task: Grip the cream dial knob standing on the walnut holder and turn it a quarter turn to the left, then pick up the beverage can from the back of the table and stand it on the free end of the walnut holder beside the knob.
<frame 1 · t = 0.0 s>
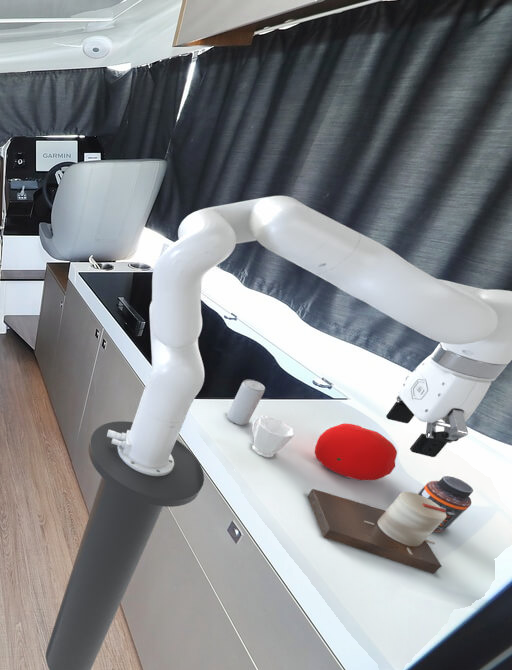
hand: (408, 436, 79), 21 cm above the countertop, tool pointing down, fingers open, 9 cm apart
cup: (259, 447, 105), on the countertop
supplement bottle: (422, 521, 87), on the countertop
cream dial knob: (410, 518, 80), point 7 cm above the countertop, hinge at 0.0°
towel stand: (364, 531, 85), on the countertop
beverage can: (236, 420, 114), on the countertop
tomato: (343, 469, 99), on the countertop
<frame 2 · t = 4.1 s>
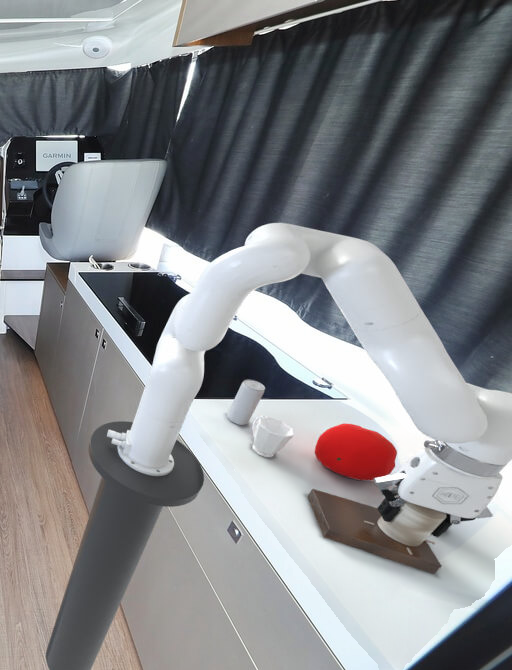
hand: (407, 522, 80), 5 cm above the countertop, tool pointing down, fingers closed on cream dial knob, 6 cm apart
cream dial knob: (410, 518, 80), point 7 cm above the countertop, hinge at 0.0°, touching gripper
everything else where it was.
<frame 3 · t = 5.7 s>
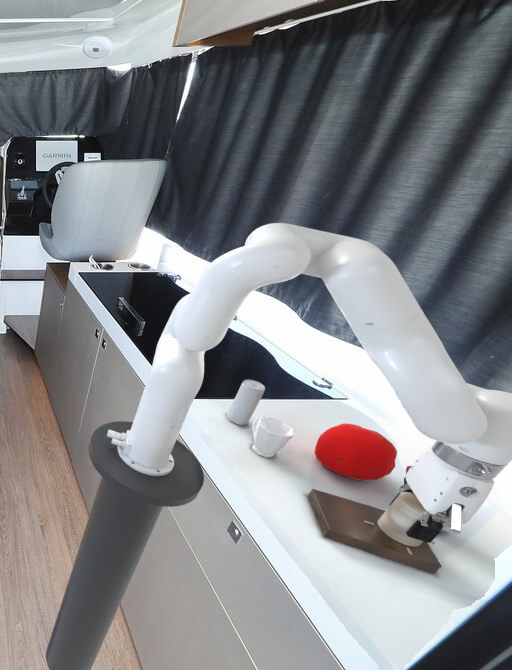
hand: (408, 523, 80), 5 cm above the countertop, tool pointing down, fingers closed on cream dial knob, 6 cm apart
cream dial knob: (410, 518, 80), point 7 cm above the countertop, hinge at 93.7°, touching gripper
everything else where it was.
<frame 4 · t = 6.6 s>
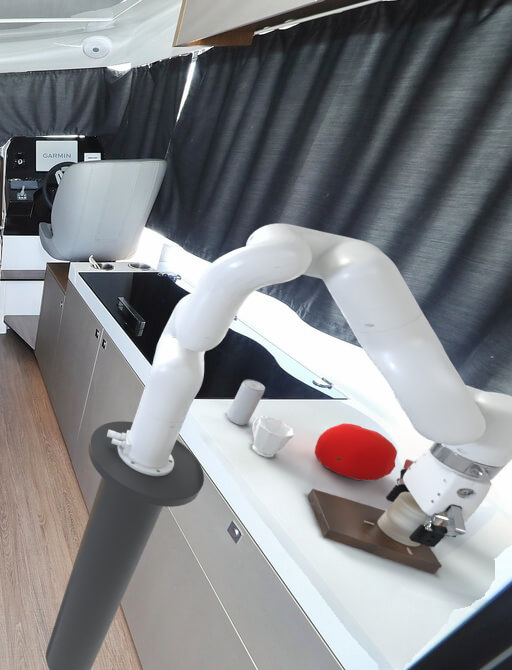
hand: (407, 521, 80), 6 cm above the countertop, tool pointing down, fingers open, 9 cm apart
cream dial knob: (410, 518, 80), point 7 cm above the countertop, hinge at 93.3°
everything else where it was.
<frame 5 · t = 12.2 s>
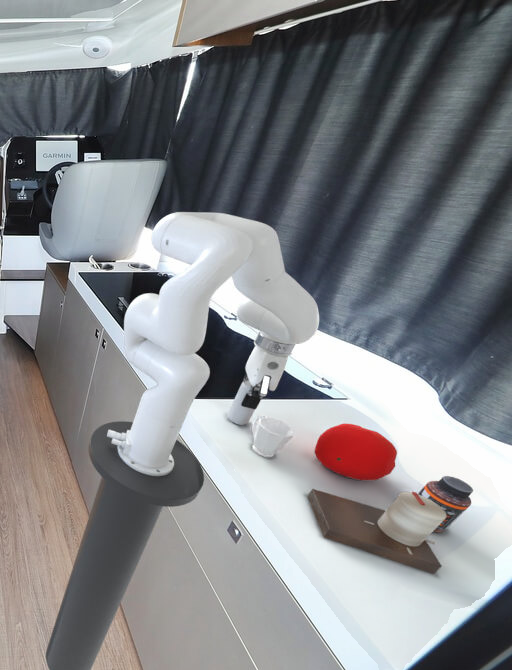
hand: (246, 400, 110), 7 cm above the countertop, tool pointing down, fingers closed on beverage can, 4 cm apart
beverage can: (236, 420, 114), on the countertop, touching gripper
everything else where it was.
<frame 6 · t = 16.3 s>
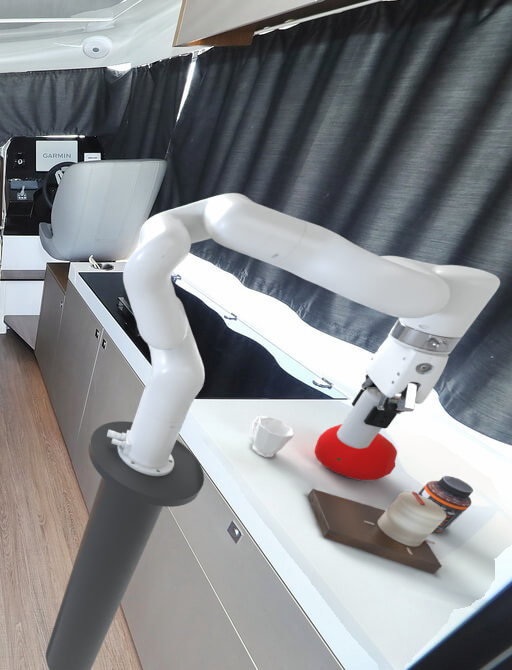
hand: (368, 415, 81), 23 cm above the countertop, tool pointing down, fingers closed on beverage can, 4 cm apart
beverage can: (350, 442, 84), point 16 cm above the countertop, touching gripper
everything else where it was.
when the fingers open (9 cm above the countertop, at t = 20.4 s): beverage can stays where it is, resting on towel stand.
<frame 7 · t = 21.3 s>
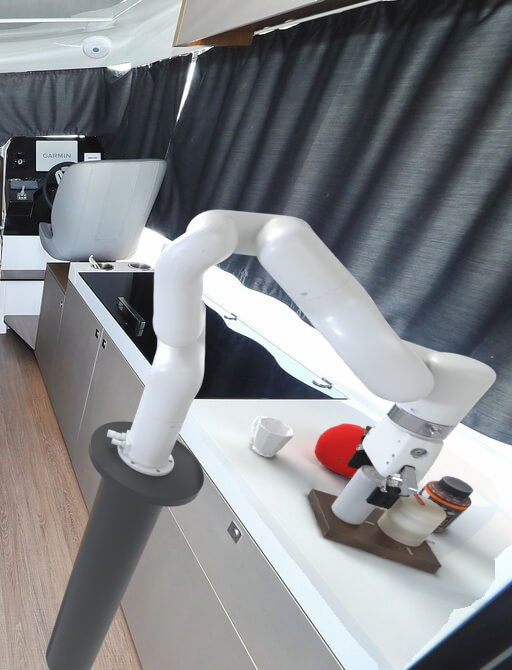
hand: (366, 485, 81), 11 cm above the countertop, tool pointing down, fingers open, 9 cm apart
beverage can: (345, 516, 85), point 2 cm above the countertop, touching towel stand
everything else where it was.
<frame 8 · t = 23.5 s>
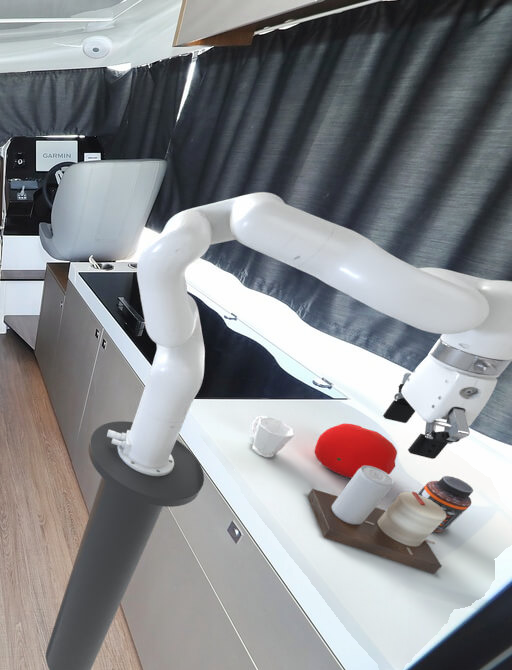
hand: (406, 436, 75), 24 cm above the countertop, tool pointing down, fingers open, 9 cm apart
nothing on the countertop moved.
at the end: cream dial knob at +93° (first picture: +0°); beverage can 0.2 cm from the target spot on the towel stand, point 2.3 cm above the towel stand's base; beverage can tilted 0° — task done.
